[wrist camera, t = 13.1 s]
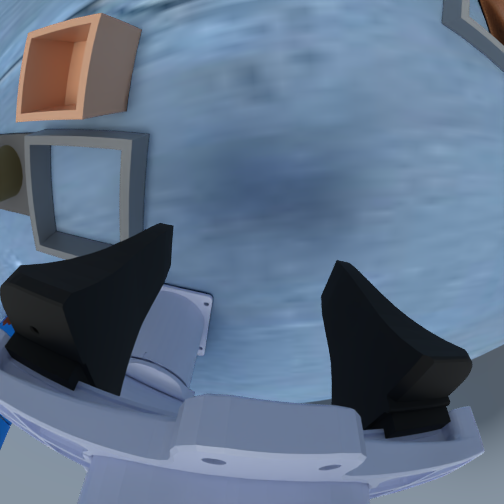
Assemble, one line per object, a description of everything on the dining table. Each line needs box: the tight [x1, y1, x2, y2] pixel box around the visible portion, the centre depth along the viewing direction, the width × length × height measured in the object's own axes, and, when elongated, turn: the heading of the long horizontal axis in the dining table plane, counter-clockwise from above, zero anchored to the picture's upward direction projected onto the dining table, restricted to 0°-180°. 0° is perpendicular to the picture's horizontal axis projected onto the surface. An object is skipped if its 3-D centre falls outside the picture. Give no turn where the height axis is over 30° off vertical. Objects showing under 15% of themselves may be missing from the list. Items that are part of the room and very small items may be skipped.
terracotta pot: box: [16, 13, 142, 122], centre depth 13 cm, size 7×7×6 cm
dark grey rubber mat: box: [0, 133, 32, 216], centre depth 20 cm, size 9×9×1 cm
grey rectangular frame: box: [24, 129, 149, 260], centre depth 20 cm, size 12×12×3 cm
